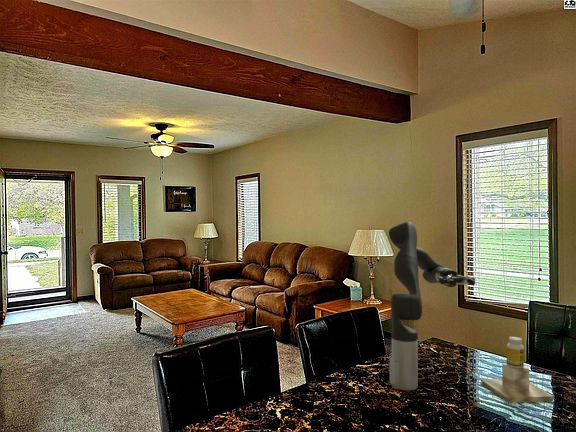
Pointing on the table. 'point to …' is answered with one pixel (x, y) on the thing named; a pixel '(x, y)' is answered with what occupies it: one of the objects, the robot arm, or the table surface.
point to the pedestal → (516, 386)
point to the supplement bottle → (515, 353)
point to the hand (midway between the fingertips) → (463, 282)
